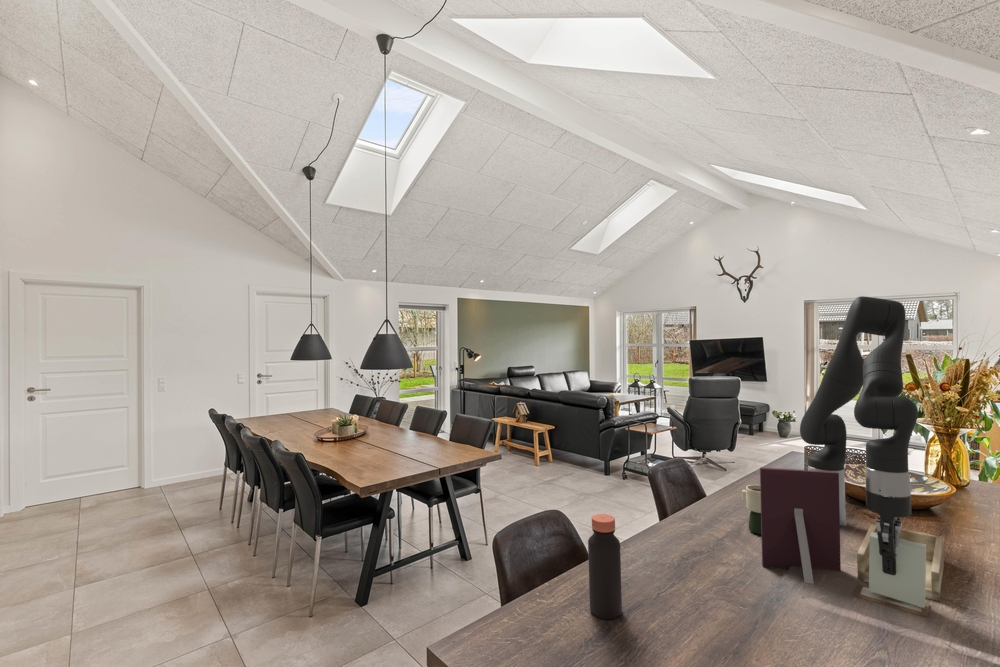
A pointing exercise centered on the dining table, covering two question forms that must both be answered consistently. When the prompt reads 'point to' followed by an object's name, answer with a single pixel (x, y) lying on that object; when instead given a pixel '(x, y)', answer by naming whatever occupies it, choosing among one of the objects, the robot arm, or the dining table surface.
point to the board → (890, 601)
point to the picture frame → (800, 520)
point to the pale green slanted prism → (899, 572)
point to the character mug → (753, 506)
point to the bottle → (604, 568)
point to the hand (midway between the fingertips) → (890, 570)
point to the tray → (932, 559)
